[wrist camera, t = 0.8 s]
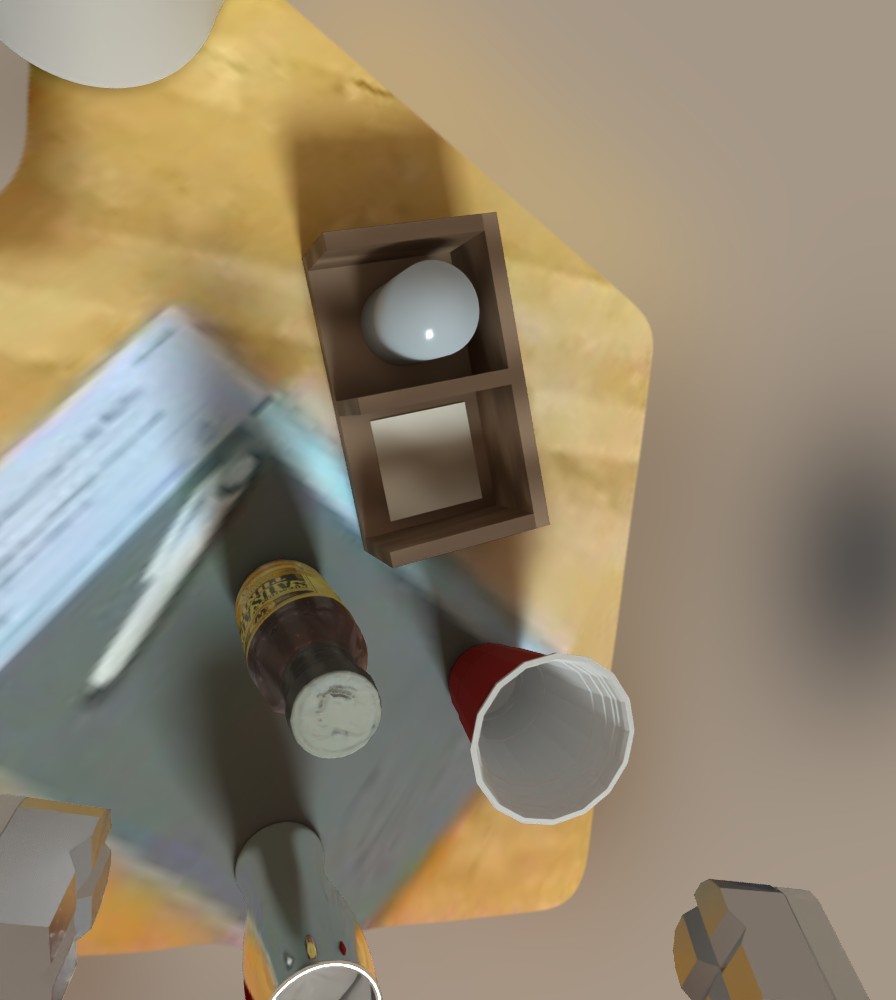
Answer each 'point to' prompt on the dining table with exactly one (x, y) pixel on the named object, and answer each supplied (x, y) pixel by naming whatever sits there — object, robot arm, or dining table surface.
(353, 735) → the sauce bottle
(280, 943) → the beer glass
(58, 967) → the robot arm
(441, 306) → the grey rounded cylinder
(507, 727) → the plastic cup
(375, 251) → the walnut rail
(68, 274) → the dining table surface
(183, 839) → the dining table surface
